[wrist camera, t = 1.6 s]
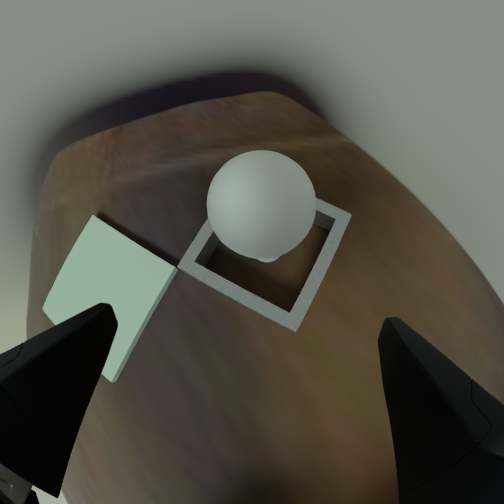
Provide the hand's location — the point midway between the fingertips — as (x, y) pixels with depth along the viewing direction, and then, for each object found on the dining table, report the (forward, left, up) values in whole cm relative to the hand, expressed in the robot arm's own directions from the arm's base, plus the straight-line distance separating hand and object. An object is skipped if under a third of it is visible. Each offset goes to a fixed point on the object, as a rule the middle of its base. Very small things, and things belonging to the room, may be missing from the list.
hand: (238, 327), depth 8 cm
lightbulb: (+3, -6, -13) cm, 15 cm away
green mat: (+15, +5, -13) cm, 21 cm away
